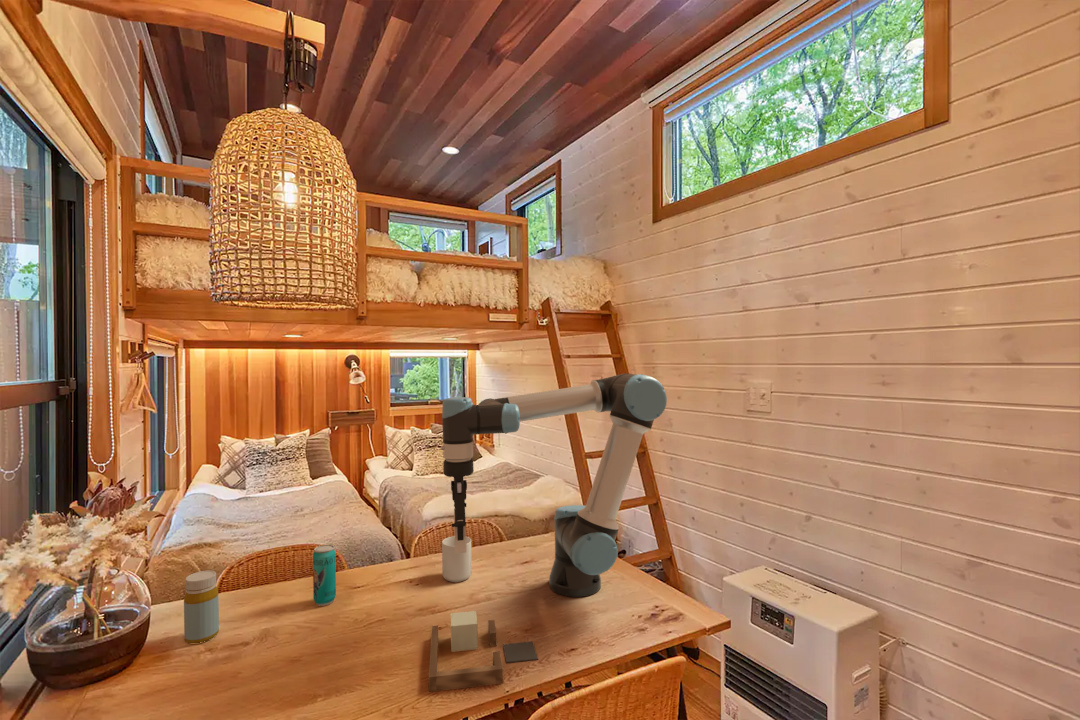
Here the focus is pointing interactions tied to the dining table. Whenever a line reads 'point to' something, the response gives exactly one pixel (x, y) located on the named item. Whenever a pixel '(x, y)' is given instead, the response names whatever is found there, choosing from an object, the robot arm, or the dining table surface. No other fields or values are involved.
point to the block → (463, 631)
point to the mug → (456, 561)
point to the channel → (464, 676)
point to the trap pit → (520, 652)
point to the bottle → (201, 607)
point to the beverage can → (324, 575)
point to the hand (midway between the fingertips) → (460, 542)
